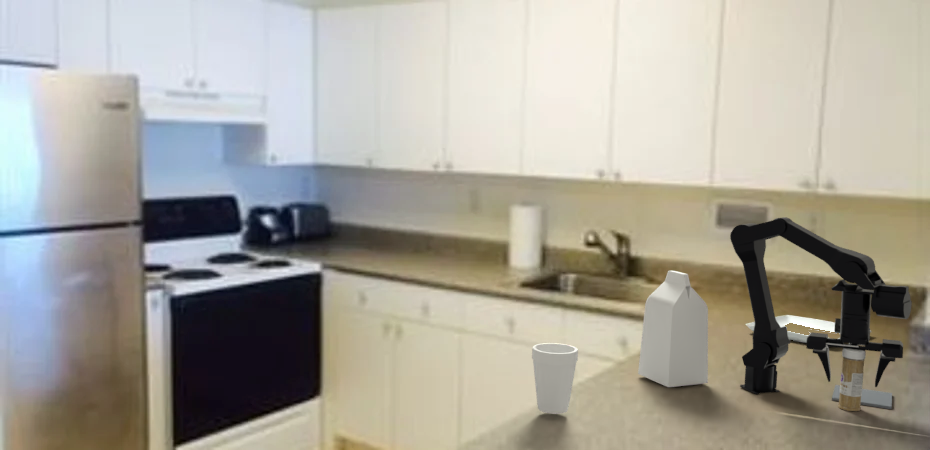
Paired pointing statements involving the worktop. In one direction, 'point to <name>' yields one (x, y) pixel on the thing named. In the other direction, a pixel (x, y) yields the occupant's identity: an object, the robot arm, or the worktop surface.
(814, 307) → the worktop surface
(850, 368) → the sprinkles bottle
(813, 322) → the square plate
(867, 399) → the rest mat
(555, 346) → the foam cup
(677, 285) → the milk
